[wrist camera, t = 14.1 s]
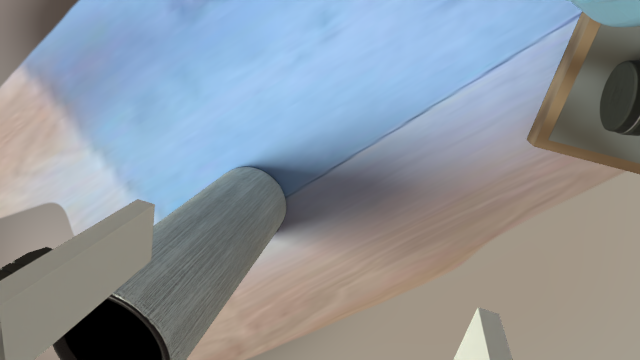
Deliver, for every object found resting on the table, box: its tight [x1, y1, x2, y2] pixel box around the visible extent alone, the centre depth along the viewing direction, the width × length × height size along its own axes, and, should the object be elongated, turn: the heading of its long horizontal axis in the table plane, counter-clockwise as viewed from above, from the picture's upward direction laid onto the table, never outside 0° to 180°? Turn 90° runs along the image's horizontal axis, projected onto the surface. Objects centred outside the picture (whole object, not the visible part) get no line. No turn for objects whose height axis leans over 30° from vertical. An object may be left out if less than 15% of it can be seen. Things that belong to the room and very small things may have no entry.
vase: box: [53, 167, 286, 360], centre depth 41 cm, size 10×10×27 cm
